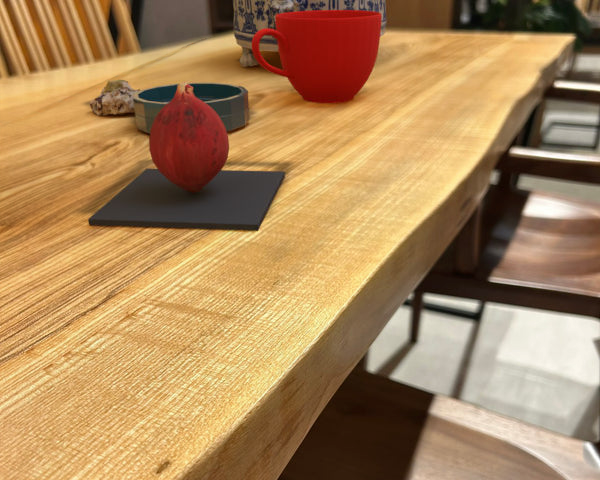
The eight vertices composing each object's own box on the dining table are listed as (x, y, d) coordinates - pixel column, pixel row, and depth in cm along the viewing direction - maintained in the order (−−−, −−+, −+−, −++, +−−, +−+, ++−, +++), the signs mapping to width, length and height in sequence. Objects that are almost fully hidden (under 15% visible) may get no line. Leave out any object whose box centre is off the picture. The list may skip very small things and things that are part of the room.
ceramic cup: (233, 100, 83) (227, 15, 78) (341, 86, 90) (342, 8, 85) (281, 118, 73) (278, 23, 68) (399, 100, 80) (403, 13, 75)
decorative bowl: (372, 79, 94) (376, -35, 87) (201, 76, 99) (192, -32, 92) (393, 44, 131) (397, -39, 124) (267, 43, 136) (264, -36, 129)
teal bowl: (120, 138, 66) (115, 103, 64) (158, 112, 77) (154, 82, 75) (235, 139, 65) (233, 104, 63) (257, 113, 75) (256, 82, 74)
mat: (88, 225, 44) (87, 218, 44) (147, 174, 55) (146, 168, 55) (258, 231, 43) (257, 224, 43) (285, 177, 53) (284, 171, 53)
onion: (234, 202, 47) (227, 89, 43) (154, 208, 46) (139, 93, 42) (229, 178, 52) (222, 75, 48) (157, 183, 51) (143, 78, 47)
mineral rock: (164, 94, 75) (93, 78, 72) (159, 131, 76) (88, 117, 73) (155, 82, 84) (91, 68, 81) (150, 116, 85) (87, 103, 82)
